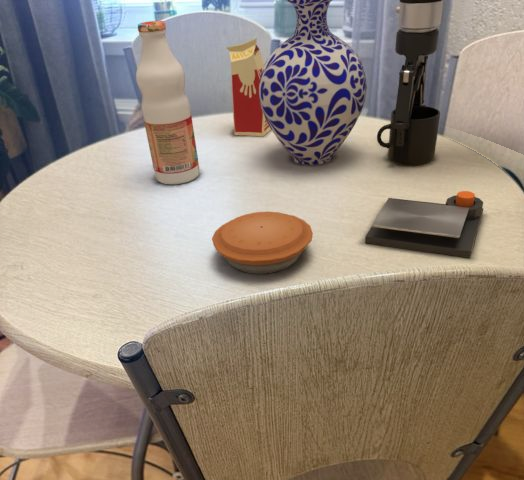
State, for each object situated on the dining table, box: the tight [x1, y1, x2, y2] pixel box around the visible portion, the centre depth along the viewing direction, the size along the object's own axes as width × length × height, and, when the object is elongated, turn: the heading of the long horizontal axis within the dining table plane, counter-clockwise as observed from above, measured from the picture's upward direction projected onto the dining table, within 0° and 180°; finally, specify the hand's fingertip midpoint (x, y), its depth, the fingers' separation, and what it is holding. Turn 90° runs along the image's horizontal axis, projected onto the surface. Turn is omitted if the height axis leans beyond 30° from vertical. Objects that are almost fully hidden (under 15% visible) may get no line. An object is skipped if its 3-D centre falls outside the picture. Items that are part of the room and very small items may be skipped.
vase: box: [259, 0, 368, 166], centre depth 106 cm, size 22×22×30 cm
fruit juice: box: [135, 20, 200, 185], centre depth 103 cm, size 9×9×28 cm
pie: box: [211, 211, 314, 275], centre depth 83 cm, size 15×16×5 cm
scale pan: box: [371, 198, 469, 238], centre depth 84 cm, size 13×10×1 cm
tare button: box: [455, 190, 476, 207], centre depth 87 cm, size 3×3×2 cm
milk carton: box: [225, 37, 271, 137], centre depth 126 cm, size 9×9×20 cm
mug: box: [376, 105, 441, 167], centre depth 108 cm, size 9×12×9 cm
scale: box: [364, 194, 484, 259], centre depth 86 cm, size 16×15×3 cm
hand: (405, 151), depth 111 cm, fingers closed on mug, 9 cm apart
